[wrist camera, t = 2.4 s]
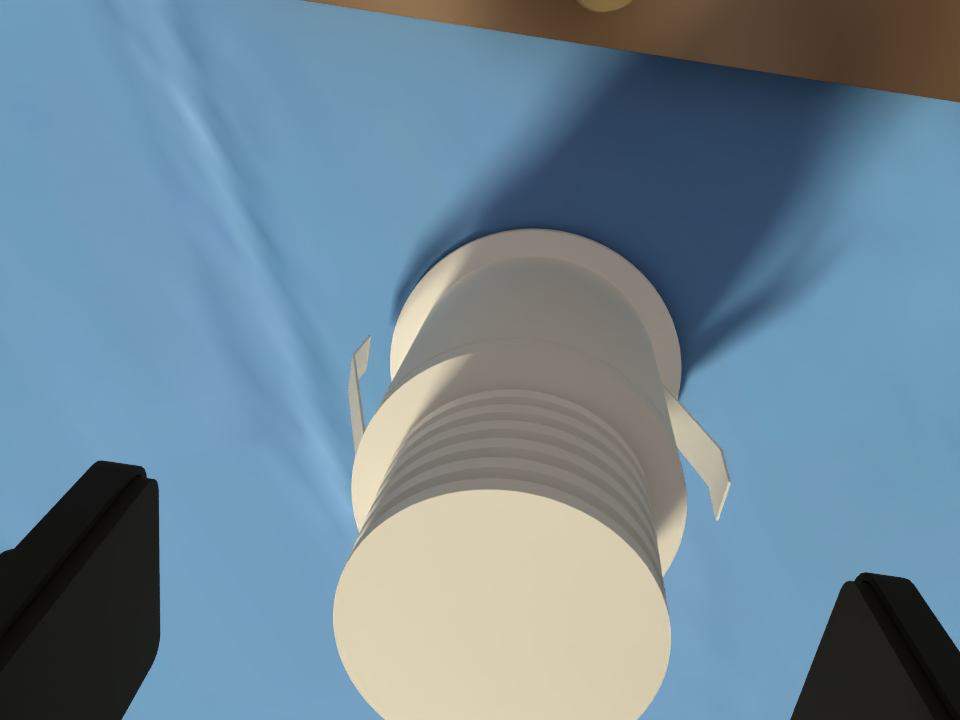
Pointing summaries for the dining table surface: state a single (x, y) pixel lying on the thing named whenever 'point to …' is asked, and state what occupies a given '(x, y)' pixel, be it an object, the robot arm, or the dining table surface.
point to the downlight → (520, 490)
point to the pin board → (740, 34)
